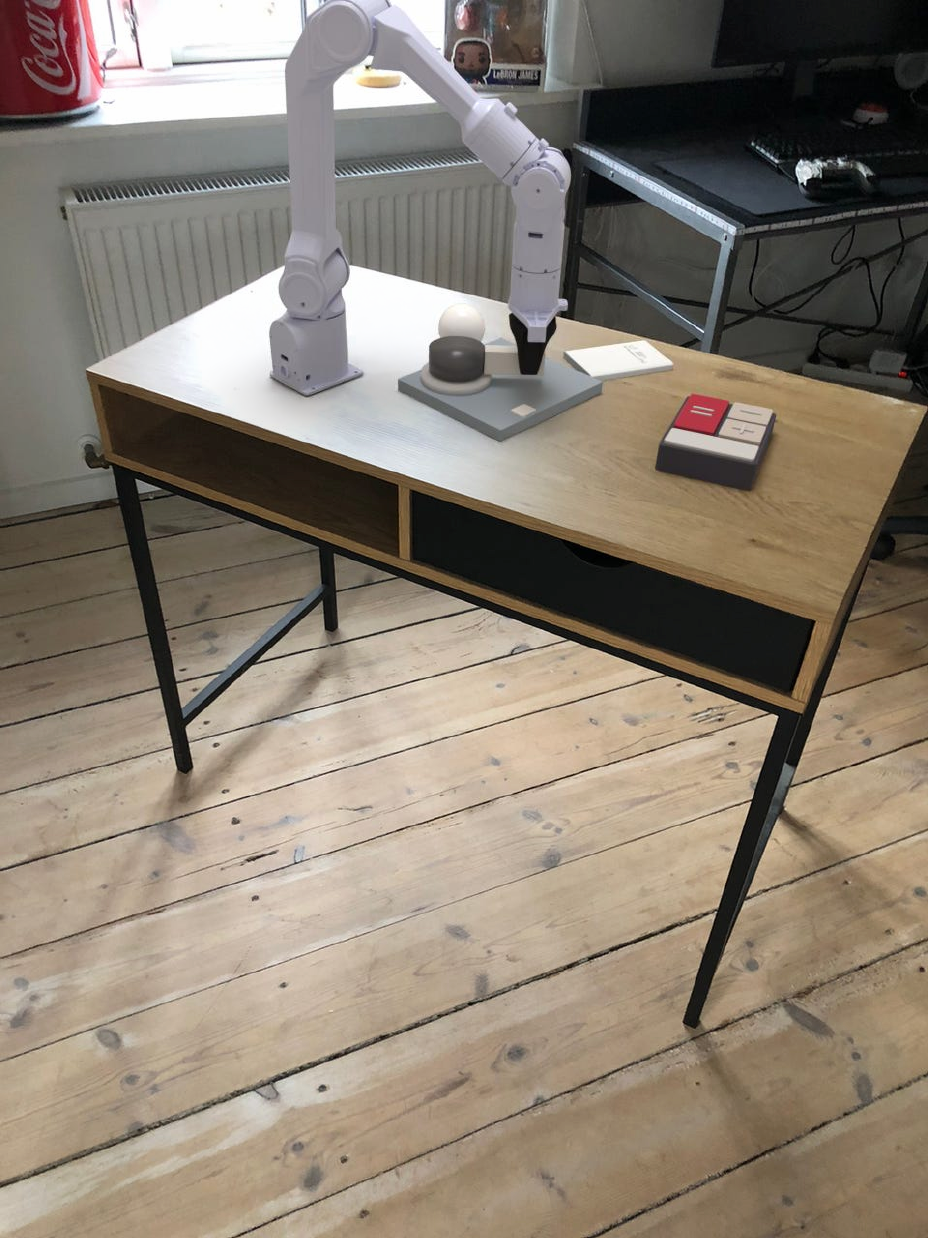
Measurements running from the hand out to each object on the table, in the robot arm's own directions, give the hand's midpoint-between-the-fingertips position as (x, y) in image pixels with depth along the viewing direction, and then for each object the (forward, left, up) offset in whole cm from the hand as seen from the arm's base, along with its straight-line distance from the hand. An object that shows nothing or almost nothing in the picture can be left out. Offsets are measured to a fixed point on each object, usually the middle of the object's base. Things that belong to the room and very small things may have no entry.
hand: (528, 373), depth 127 cm
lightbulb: (+9, +22, -2) cm, 24 cm away
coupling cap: (-2, +5, -1) cm, 6 cm away
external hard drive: (+17, -1, -4) cm, 18 cm away
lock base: (-1, +4, -4) cm, 5 cm away
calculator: (+7, -24, -4) cm, 25 cm away
